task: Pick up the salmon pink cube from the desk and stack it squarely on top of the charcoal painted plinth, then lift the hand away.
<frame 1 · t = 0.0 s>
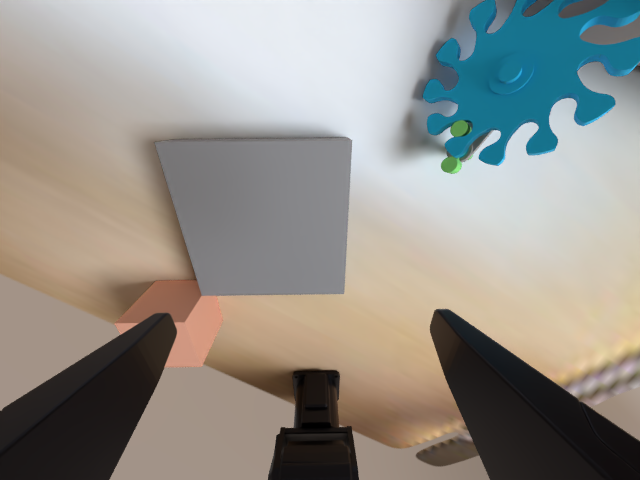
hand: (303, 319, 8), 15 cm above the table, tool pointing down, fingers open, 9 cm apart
gear: (467, 93, 18), on the table
salmon pink cube: (191, 301, 27), on the table
plinth: (270, 219, 22), on the table
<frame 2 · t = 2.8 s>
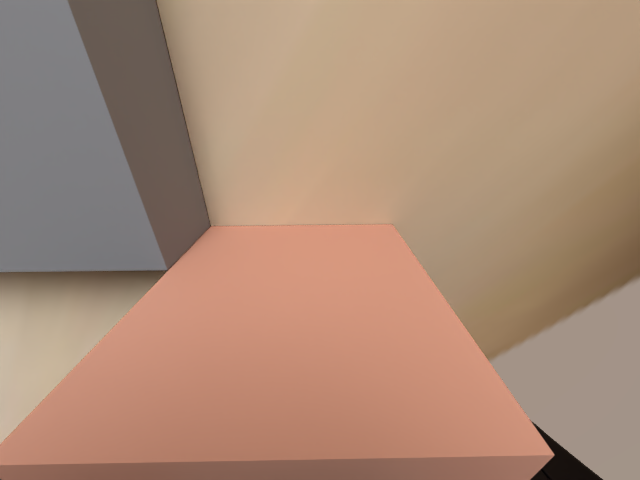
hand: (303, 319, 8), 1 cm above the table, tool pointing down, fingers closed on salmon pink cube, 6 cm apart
salmon pink cube: (305, 295, 9), on the table, touching gripper
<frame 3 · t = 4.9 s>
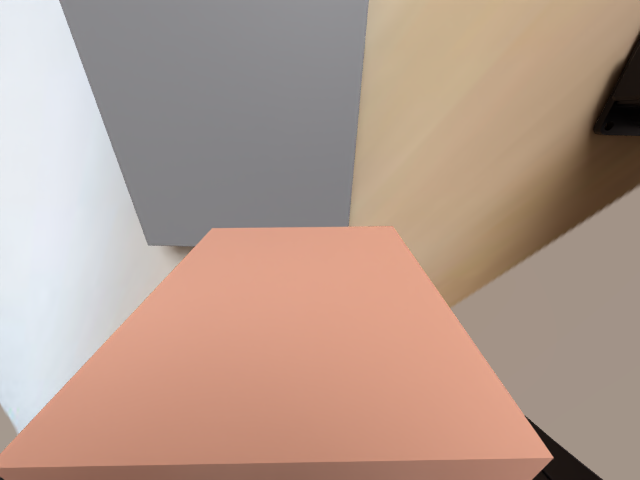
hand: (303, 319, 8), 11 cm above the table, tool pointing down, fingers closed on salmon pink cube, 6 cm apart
salmon pink cube: (305, 296, 9), point 10 cm above the table, touching gripper
plinth: (245, 137, 16), on the table
when the fingers open (5 cm above the table, at t = 7.2 s): salmon pink cube drops 1 cm, resting on plinth.
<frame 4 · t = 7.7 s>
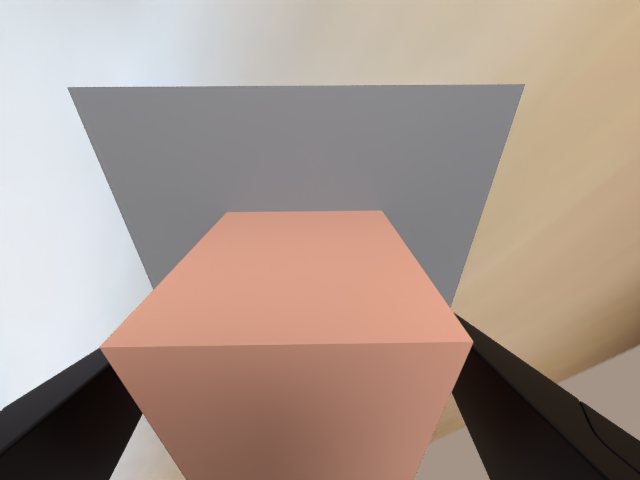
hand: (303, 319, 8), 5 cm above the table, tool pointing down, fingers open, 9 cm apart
salmon pink cube: (307, 274, 10), point 2 cm above the table, touching plinth
plinth: (307, 245, 13), on the table
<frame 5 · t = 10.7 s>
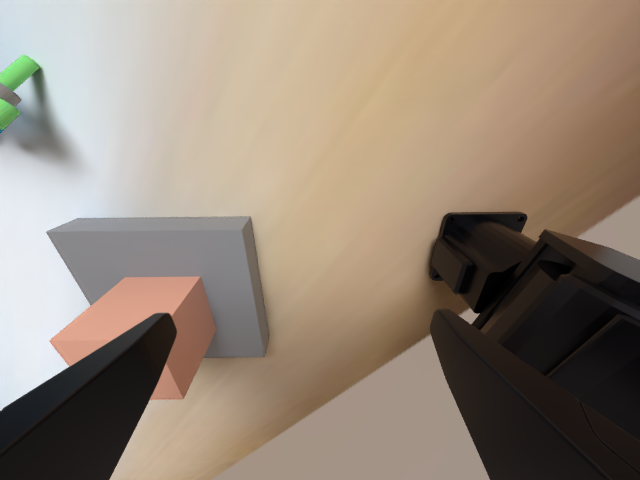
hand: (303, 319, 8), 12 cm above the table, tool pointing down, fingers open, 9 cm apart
salmon pink cube: (173, 305, 20), point 2 cm above the table, touching plinth
plinth: (187, 286, 22), on the table
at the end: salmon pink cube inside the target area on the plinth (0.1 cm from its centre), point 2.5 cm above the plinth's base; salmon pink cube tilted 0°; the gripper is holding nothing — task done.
